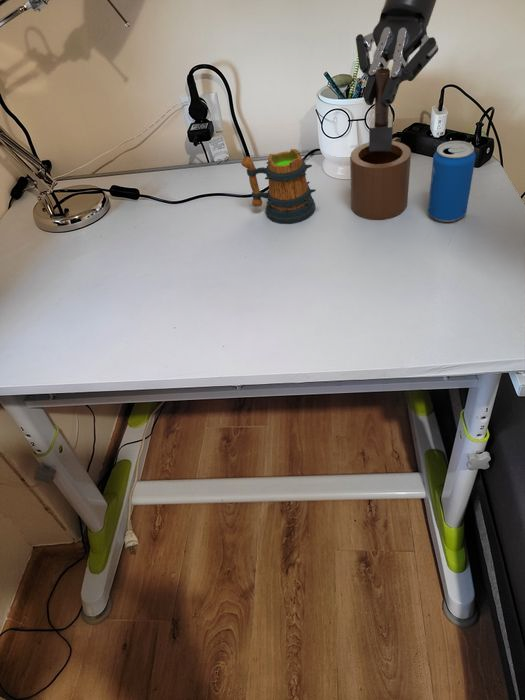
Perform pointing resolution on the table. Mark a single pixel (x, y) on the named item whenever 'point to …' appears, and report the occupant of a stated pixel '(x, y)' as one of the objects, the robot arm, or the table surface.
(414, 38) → the robot arm
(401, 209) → the brown pencil cup
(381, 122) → the cylinder on square base
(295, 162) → the mug
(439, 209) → the beverage can
